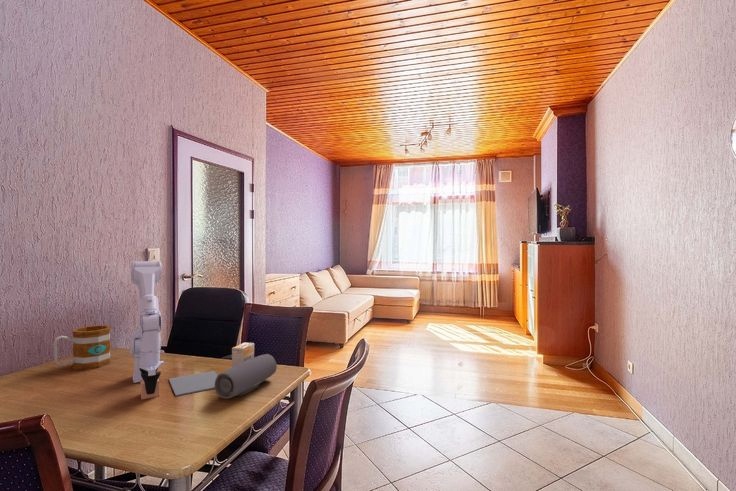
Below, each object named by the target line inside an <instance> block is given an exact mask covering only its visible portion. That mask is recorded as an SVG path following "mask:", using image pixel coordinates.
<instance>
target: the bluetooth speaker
mask: <svg viewBox="0 0 736 491" xmlns="http://www.w3.org/2000/svg"><path fill="white" fill-rule="evenodd" d="M277 367H278V366H277V362H276V359H275V358H274V356H272V355H271V354H269V353H266V354H264V353H263V354H261V355H258V356H254V358H252V359H250V360H247V361H245V362H242V363H240V364H238V365H236V366H234V367H232V366H231V367H230V368H228V369H226V370H224V371H222V372H221V373H219V374H217V375H218V376H217V378H216V380H215V384H214V385H215V389H214V390H215V392H216V394H217V395H218V396H219V397H220V398H222V399H226V400H227V399H231V398H234V397H236V396H239V397H241V396H243V395H246V394H247V393H250V392H251V391H254V390H256V389H257V388H258V387H259V386H260V384H261V383H263V382H264V381H266V380H268V378H270V377H272V376H273V375H274V374H275V373H276V371H277Z"/></svg>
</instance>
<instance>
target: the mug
mask: <svg viewBox="0 0 736 491" xmlns="http://www.w3.org/2000/svg"><path fill="white" fill-rule="evenodd" d="M72 336H73V337H72V338H70V337H69V336H66V335H59V336H58V337H55V339H54V341H53V343H52V347H53V356H54V357H53V358H54V362H55V363H56V365H57V366H66V365H68V364H71V363H72V368H71V369H72V370H80V371H83V370H92V369H99V368H102V367H104V366H108V365H110V364H111V362H112V359H111V344H112V343H111V325H108V324H107V325H105V324H104V325H103V324H99V325H98V324H96V325H87V326H82V327H78V328H74V329H73V330H72ZM61 339H63V340H64V339H65V340H66V341H67V342H70V343H72V357H73V358H72V359H71V358H70V359H67V360H65V361H64V362H60V360H59V348H58V341H60V340H61Z"/></svg>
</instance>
